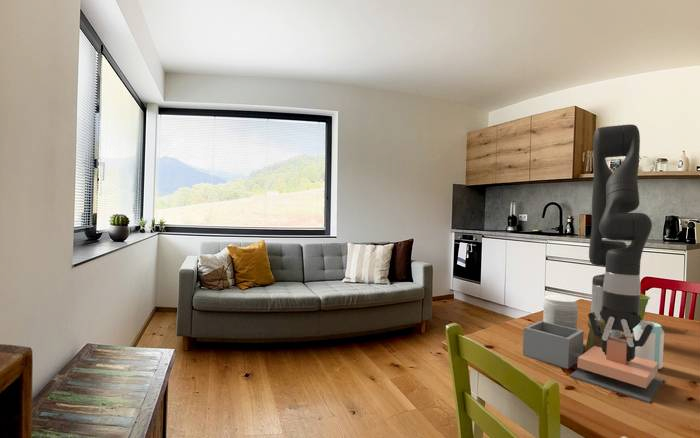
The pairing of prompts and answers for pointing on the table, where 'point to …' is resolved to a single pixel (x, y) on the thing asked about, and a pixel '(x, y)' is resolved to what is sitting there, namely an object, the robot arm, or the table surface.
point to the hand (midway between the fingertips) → (617, 357)
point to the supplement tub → (560, 311)
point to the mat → (619, 385)
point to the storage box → (553, 343)
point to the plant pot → (643, 305)
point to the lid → (618, 364)
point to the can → (651, 344)
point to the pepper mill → (592, 338)
